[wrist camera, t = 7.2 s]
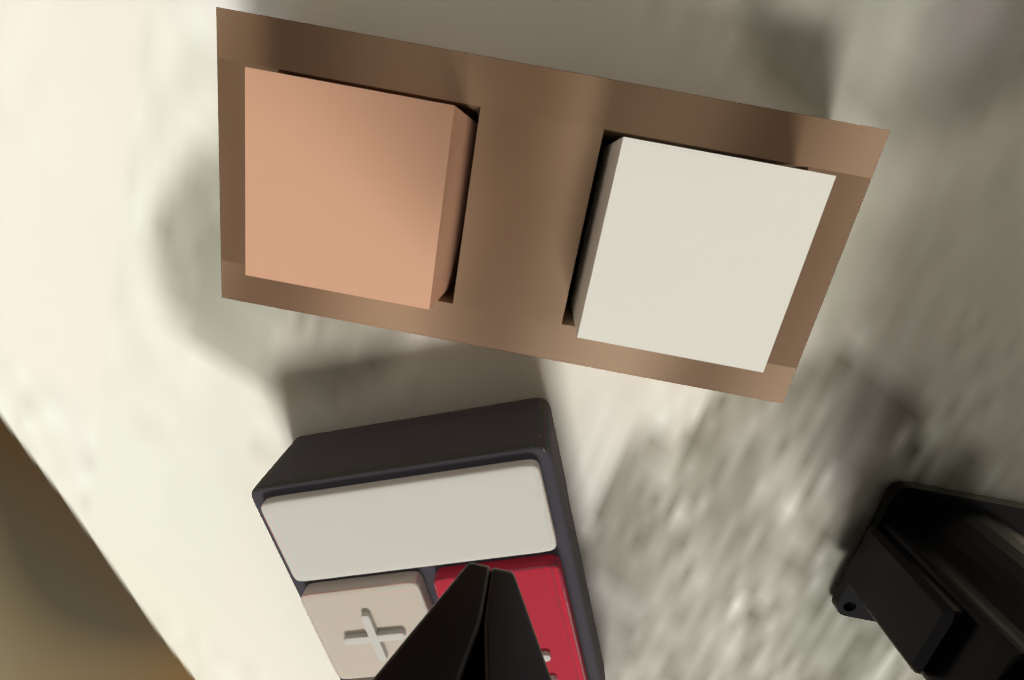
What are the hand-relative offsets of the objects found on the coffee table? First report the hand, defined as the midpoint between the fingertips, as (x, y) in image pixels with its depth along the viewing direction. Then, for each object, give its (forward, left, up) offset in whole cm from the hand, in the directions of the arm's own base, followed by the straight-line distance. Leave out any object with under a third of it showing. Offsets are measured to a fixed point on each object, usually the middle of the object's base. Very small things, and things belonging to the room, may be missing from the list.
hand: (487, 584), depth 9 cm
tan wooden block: (+5, -6, -9) cm, 12 cm away
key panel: (+1, -6, -11) cm, 12 cm away
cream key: (-4, -6, -9) cm, 12 cm away
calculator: (+1, +10, -11) cm, 15 cm away
